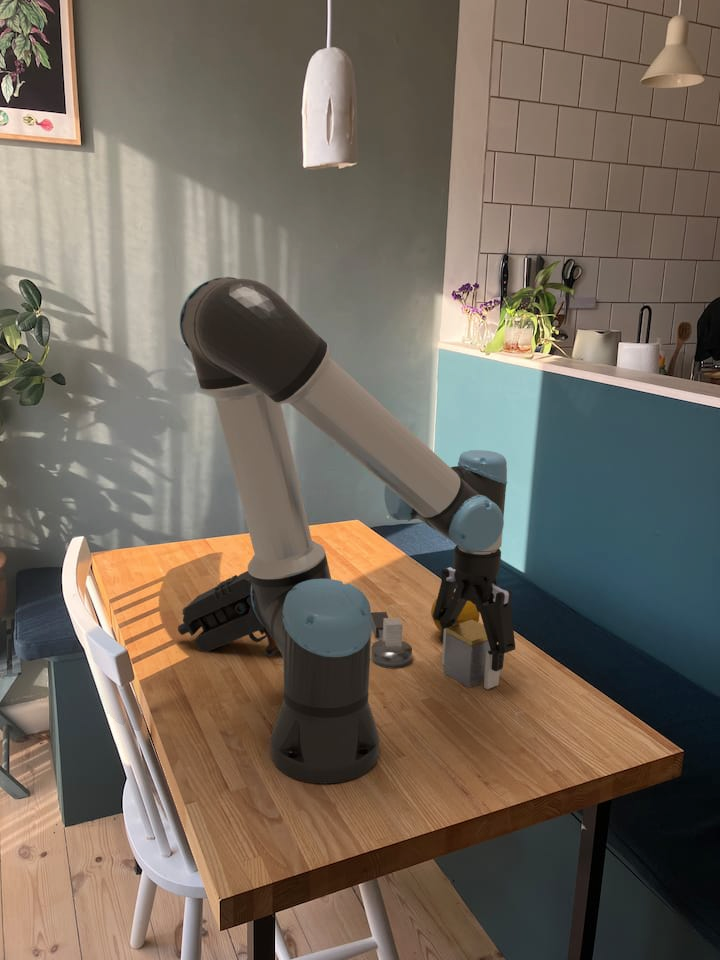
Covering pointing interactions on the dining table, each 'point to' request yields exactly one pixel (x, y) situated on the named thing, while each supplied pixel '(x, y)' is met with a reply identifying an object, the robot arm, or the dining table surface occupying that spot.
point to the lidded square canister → (466, 652)
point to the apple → (466, 614)
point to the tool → (224, 616)
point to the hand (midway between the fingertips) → (469, 674)
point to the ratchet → (389, 642)
